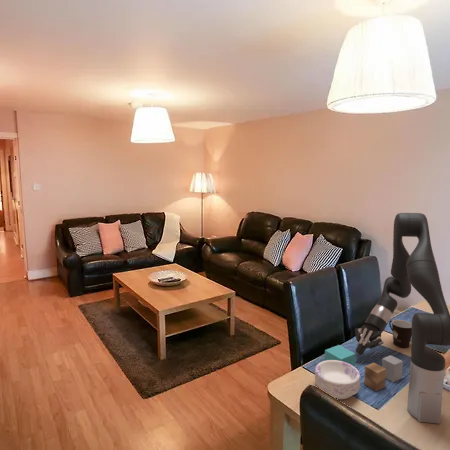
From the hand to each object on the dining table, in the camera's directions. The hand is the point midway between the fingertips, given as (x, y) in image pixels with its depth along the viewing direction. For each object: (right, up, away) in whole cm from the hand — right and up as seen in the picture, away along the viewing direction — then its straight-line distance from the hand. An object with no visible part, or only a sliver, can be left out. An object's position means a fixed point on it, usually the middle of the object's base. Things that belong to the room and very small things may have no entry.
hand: (358, 353), depth 138 cm
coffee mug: (+26, -2, +16) cm, 31 cm away
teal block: (-9, -5, -5) cm, 12 cm away
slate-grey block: (+9, -5, -9) cm, 14 cm away
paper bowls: (-15, -7, -18) cm, 24 cm away
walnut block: (0, -6, -14) cm, 16 cm away
